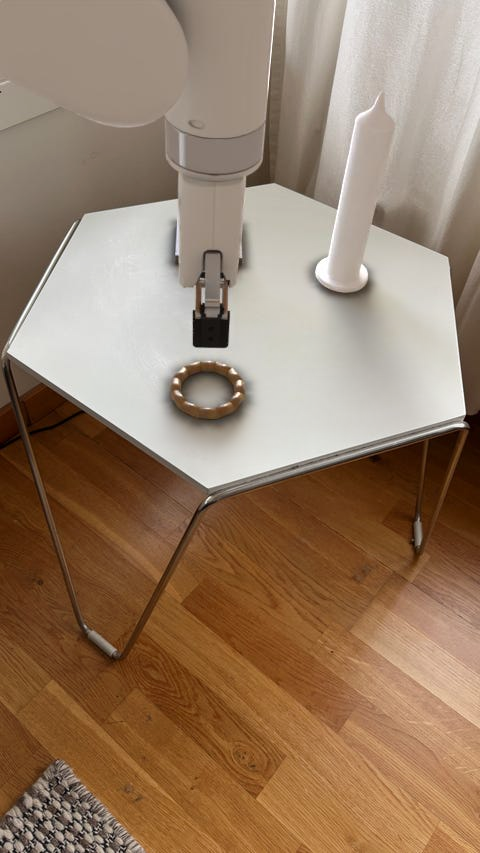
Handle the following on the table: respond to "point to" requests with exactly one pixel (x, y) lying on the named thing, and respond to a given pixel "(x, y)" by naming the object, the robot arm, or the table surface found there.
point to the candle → (358, 200)
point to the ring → (201, 411)
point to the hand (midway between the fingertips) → (210, 309)
